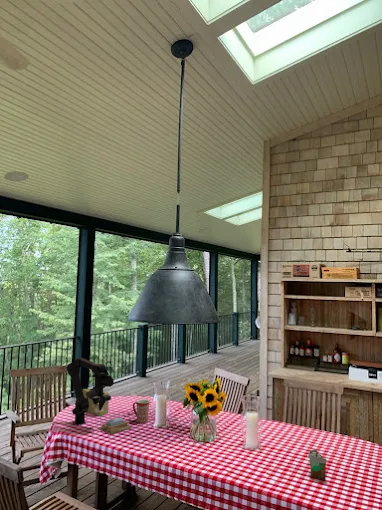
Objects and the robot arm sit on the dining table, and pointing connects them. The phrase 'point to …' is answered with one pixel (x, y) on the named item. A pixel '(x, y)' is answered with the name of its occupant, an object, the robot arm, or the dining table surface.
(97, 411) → the tan rectangular block
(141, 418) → the mug
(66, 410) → the dining table surface
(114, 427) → the tray
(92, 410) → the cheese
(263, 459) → the dining table surface
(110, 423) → the grey block
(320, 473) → the food container
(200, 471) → the dining table surface
